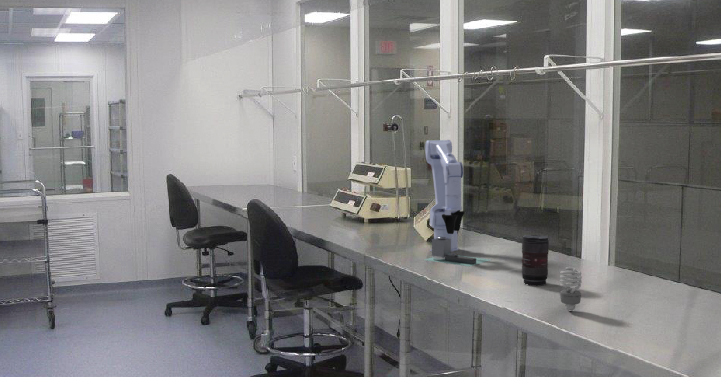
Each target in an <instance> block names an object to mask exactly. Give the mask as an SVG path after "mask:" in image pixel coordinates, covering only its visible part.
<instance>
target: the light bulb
mask: <svg viewBox="0 0 721 377" xmlns="http://www.w3.org/2000/svg"><path fill="white" fill-rule="evenodd" d="M560 274H561V275H559V278H560V279H559V282H560V284H559V285H560V286H561V287H564V288H566V289H562V290H560V292H559V293H560V294H559V296H560V302H561V303H562V304H563V305H565V309H566V310H567V311H569V310H572V311H574V310H575V309H576V305H578V304H580V303H581V298H582V293H581V291H579V289H580V288H581V286H582V284H581V283H582V282H583V281H582V279H583V278H582V277H583V276H582V271H581V270H580V269H577V268H575V267H574V266H566V267H565V270H561V271H560ZM571 287H573V288H571Z"/></svg>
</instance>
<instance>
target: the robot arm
mask: <svg viewBox="0 0 721 377" xmlns="http://www.w3.org/2000/svg"><path fill="white" fill-rule="evenodd" d="M424 149H425V150H424V152H425V159H426V162H427V164H429V165H430V167H431V171H432V179H433V189H434V197H435V199H434V200H435V204H434V205H433V206H432V207H431V208H430V209H429V225H430V227H432V229H433V239H435V238H437V237H446V238H450V239H451V253H452V252H455V251H458V250H459V251H460V248H458V232H459V231H460V230H461V224H462V220H463V218H464V216H465V211H464V210H462V209H463V208H462V179H463V176H464V166H463V163H462V161H458V160H457V159H456V156H455V155H454V154H453V143H452V141H451V139H445V140H444V139H442V140H441V139H438V140H437V139H436V140H434V139H433V140H430V139H428V140H426V141H425V145H424ZM429 251H430V252H432V248H431V249H429Z"/></svg>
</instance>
